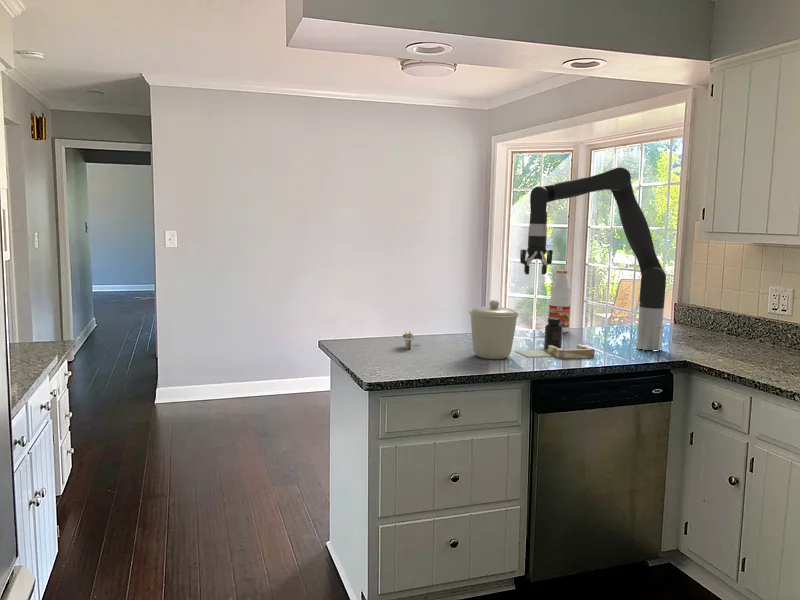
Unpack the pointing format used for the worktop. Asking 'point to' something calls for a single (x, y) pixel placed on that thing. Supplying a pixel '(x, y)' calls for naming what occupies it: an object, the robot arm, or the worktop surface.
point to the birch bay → (571, 352)
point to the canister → (493, 330)
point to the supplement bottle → (553, 333)
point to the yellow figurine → (408, 340)
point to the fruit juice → (560, 300)
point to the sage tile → (534, 353)
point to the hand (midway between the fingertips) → (535, 274)
